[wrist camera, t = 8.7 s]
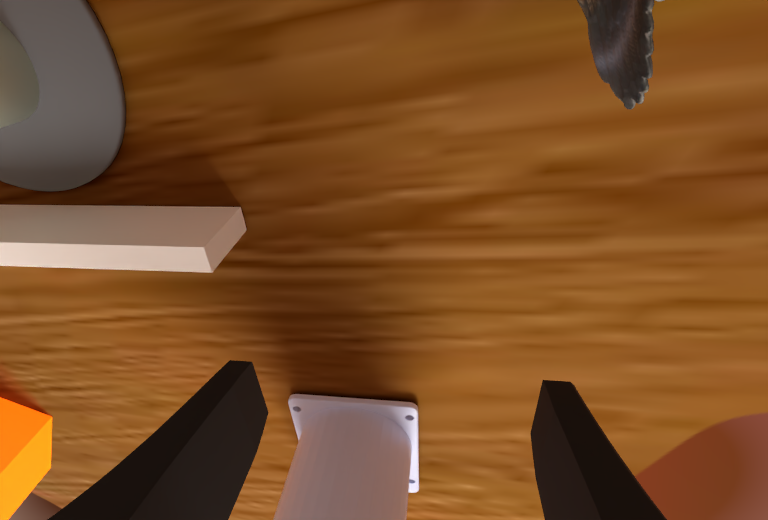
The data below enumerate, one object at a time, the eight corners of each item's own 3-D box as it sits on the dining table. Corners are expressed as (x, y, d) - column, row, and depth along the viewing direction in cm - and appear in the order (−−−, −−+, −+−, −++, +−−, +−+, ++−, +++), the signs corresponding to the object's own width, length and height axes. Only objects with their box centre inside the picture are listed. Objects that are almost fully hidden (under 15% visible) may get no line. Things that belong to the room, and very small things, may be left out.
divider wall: (246, 229, 20) (212, 272, 17) (-75, 224, 22) (-153, 260, 19) (240, 206, 19) (203, 247, 16) (-90, 203, 22) (-173, 238, 19)
